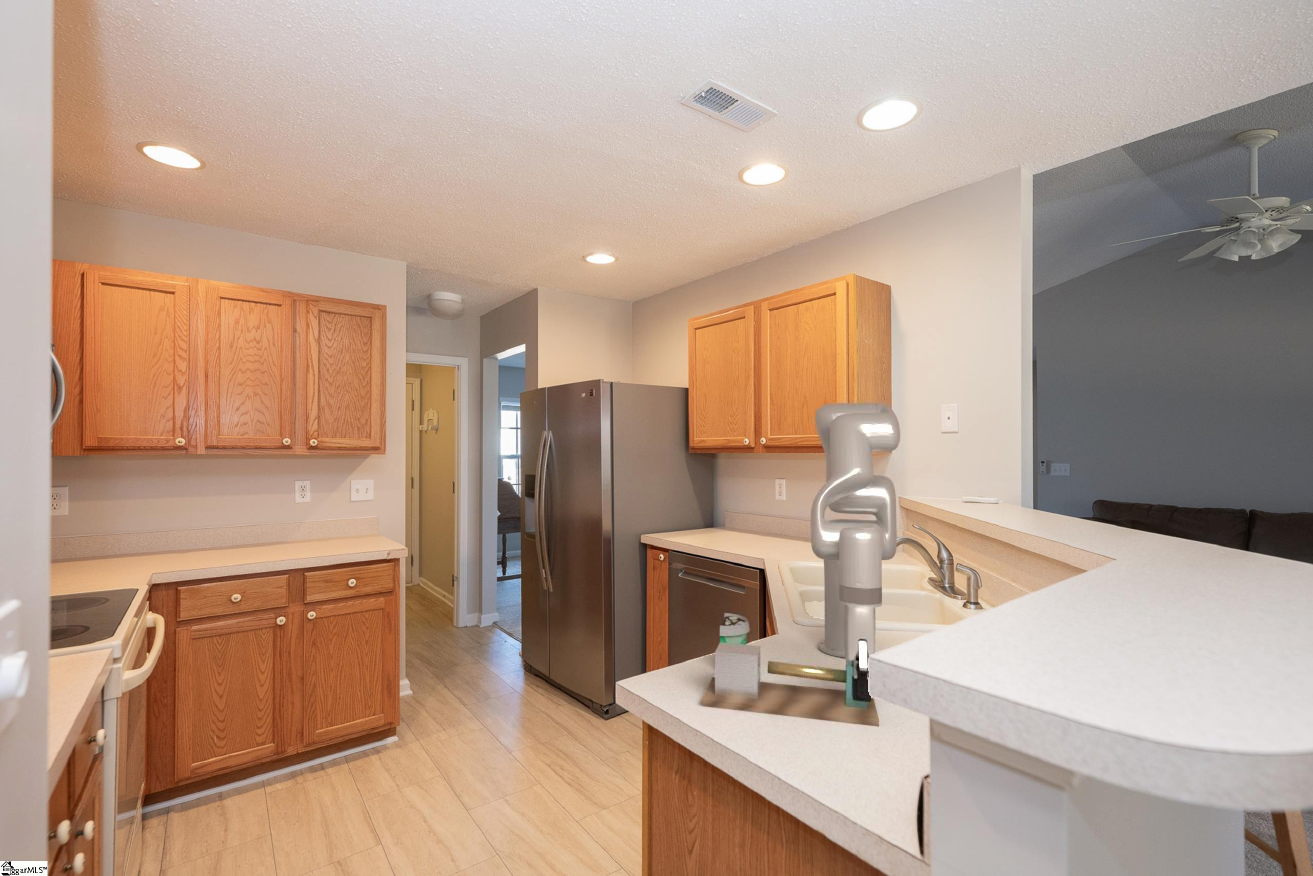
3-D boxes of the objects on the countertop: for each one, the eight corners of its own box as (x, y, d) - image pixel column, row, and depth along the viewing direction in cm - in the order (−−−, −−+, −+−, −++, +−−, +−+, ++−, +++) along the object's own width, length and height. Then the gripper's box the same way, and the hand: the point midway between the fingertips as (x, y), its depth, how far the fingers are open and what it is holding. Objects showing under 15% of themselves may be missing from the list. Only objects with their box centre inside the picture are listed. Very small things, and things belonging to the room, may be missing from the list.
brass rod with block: (766, 695, 111) (767, 656, 111) (768, 688, 114) (769, 651, 115) (867, 708, 106) (867, 668, 107) (865, 701, 110) (866, 662, 110)
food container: (748, 675, 126) (748, 628, 126) (719, 673, 127) (719, 626, 127) (750, 657, 138) (751, 614, 138) (724, 655, 139) (724, 612, 140)
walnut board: (701, 705, 110) (701, 699, 110) (712, 682, 121) (712, 677, 122) (879, 726, 102) (878, 719, 102) (872, 699, 113) (872, 693, 114)
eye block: (714, 694, 112) (715, 651, 113) (719, 683, 118) (720, 642, 118) (757, 699, 110) (757, 655, 111) (760, 687, 116) (760, 646, 116)
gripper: (837, 585, 118) (837, 678, 117) (840, 603, 102) (841, 712, 101) (877, 587, 116) (878, 682, 115) (887, 606, 100) (888, 717, 99)
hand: (860, 695), depth 108 cm, fingers closed on brass rod with block, 3 cm apart
